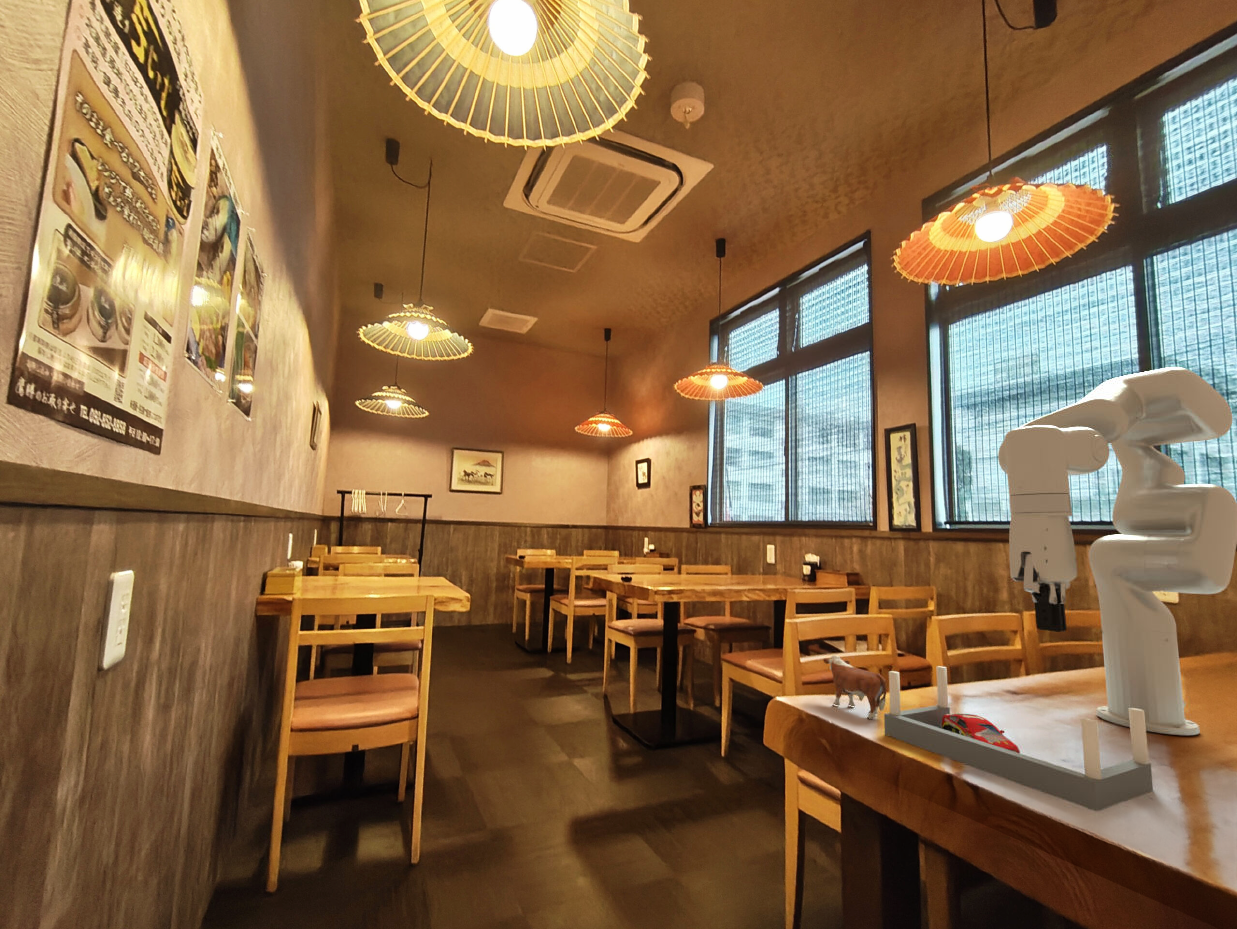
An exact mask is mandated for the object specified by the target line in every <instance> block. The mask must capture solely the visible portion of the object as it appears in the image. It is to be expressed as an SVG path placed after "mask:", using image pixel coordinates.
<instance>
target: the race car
mask: <svg viewBox="0 0 1237 929" xmlns="http://www.w3.org/2000/svg"><path fill="white" fill-rule="evenodd" d="M942 729H944V730H947V731H950V732H954V733H957V734H960V735H963V736H966V737H969V738H972V739H976V740H979V741H982V742H985V743H988V744H991V745H995V746H998V747H1001V748H1004V749H1007V750H1010V751H1013V752H1017V753H1020V754H1021V751H1020V748H1019V747H1018V745H1016V744H1015V743H1014V742H1013V741H1012V740H1011V739H1009V738H1008V737H1006V736H1005V735H1004V733H1005V730H1002V729H1001V730H1000V729H999V728H998V727H997V726H996V725H995V724H994V723H992V722H991V721H989V720H988V719H986V718H984V717H982V716H979V715H976V714H969V713H950V714H945V715H944V716H943V718H942Z"/></svg>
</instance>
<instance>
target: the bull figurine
mask: <svg viewBox="0 0 1237 929" xmlns="http://www.w3.org/2000/svg"><path fill="white" fill-rule="evenodd" d="M823 663H824V664H826V665H827V664H829V669H830V670H831V673H832V681H833V683H834V684H835V699H834V701H833V703H832V704H835V705H841V704H840V699H841V698H842V694H845V695H847V696H848V699H849V700H848V705H851V706H854V707H855V706H856V704H855V702H854V700H853V699H854V695H856V696H857V697H858V700H859V701H861V702H862V701H863V699H864V698H865V697H866V698H867V700H868V704H869V708H870V710H869V712H868V716H867V717H866V719H867V718H869V719H868V720H870V719H871V720H873V719H874V718H876V715H878V713H879V712H878V709H879V711H880V712H882V711H884V709H885V708H884V707H885V706H886V697H887V696H886V695H887V680H886V679H885V678H884V677H883V676H882V675H881V674H880V673H877V672H873V671H868V670H865V669H860V668H857V667H855V666H853V665H852V664H850V661H849V660H848V659H845V660H843V659H841V657H840V656H839V655H837V654H833V655H831V656H830V658H823ZM881 697H882V698H881ZM848 705H847V706H848ZM869 713H870V714H869Z"/></svg>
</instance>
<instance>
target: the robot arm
mask: <svg viewBox="0 0 1237 929" xmlns="http://www.w3.org/2000/svg"><path fill="white" fill-rule="evenodd" d="M1232 425H1233V412H1232V409H1231V407H1230V405H1229V403H1228V401H1227V400H1226V399H1225V398H1224V397H1223V395H1221V393H1219V392H1218V391H1217V389H1215V388H1214V387H1213V386H1212V385H1211V384H1209V383H1208V382H1207V381H1206V380H1205V379H1204V378H1202V377H1201V376H1200V375H1198V374H1196V373H1195V372H1193V371H1191V370H1190V369H1187V368H1184V367H1179V366H1175V367H1174V366H1170V367H1164V368H1159V369H1153V370H1149V371H1144V372H1139V373H1138V372H1137V373H1133V374H1127V375H1123V376H1119V377H1114V378H1111V379H1109V380H1106V381H1104V382H1102V383H1101V384H1099V385H1098V386H1097V387H1095V388H1094V389H1093V390H1091V391H1090V392H1089V393H1088V394H1087V395H1086V396H1084V397H1083V398H1082V399H1080V400H1079V401H1078V402H1076V403H1074V404H1071V405H1068V406H1066V407H1063V408H1060V409H1058V410H1056V411H1053V412H1051V413H1048V414H1046V415H1043V416H1041V417H1039V418H1038V417H1037V418H1036V419H1033V420H1031V421H1029V422H1026V423H1024V424H1023V425H1020V426H1019V427H1018V428H1013V429H1012V430H1009V431H1007V432H1006V434H1005V436H1004V439H1003V441H1002V442H1001V444H1000V446H999V450H998V454H997V455H998V456H997V457H998V458H997V459H998V463H999V466H1000V468H1001V469H1002V472H1003V473H1005V474H1006V476H1007V487H1008V496H1009V497H1008V498H1009V500H1008V501H1009V510H1010V524H1009V534H1008V537H1009V538H1008V541H1009V542H1008V544H1009V545H1008V552H1009V572H1010V577H1011V579H1012V580H1013V581H1015V582H1023V590H1024V591H1025V592H1028V593H1030V594H1031V599H1032V602H1033V603H1034V613H1035V624H1036V628H1037V629H1038V630H1040V631H1049V632H1055V633H1060V632H1066V631H1067V629H1068V628H1067V620H1066V619H1067V618H1066V617H1067V616H1066V608H1065V603H1066V590H1067V589H1069V588H1070V587H1071V582H1072V581H1074V579H1076V578H1077V576H1078V567H1077V566H1078V563H1077V554H1076V548H1075V547H1076V546H1075V541H1074V535H1073V531H1072V526H1071V522H1070V518H1069V517H1072V516H1073V508H1072V500H1071V498H1072V497H1071V494H1070V493H1071V491H1070V490H1071V489H1070V481H1069V476H1078V475H1079V476H1081V475H1088V474H1092V473H1094V472H1097V471H1099V470H1101V469H1102V468H1103V467H1104V466H1105V465H1106V464H1107V462H1108V460H1109V457H1110V446H1111V448H1112V450H1113V452H1114V454H1115V457H1116V458H1117V461H1118V462H1119V465H1120V467H1121V471H1122V474H1121V480H1120V483H1119V486H1118V490H1117V494H1116V498H1115V501H1114V505H1113V509H1112V525H1113V526H1114V528H1115V529H1116V531H1118V533H1117V534H1111V535H1110V534H1108V535H1105V536H1102V537H1100V538H1097V539H1096V540H1094V541H1093V543H1091V545H1090V547H1089V551H1088V560H1089V561H1088V562H1089V566H1090V569H1091V572H1092V575H1093V576H1092V577H1093V580H1094V583H1095V587H1096V592H1097V597H1098V603H1099V611H1100V623H1101V626H1100V627H1101V636H1102V637H1101V638H1102V648H1103V649H1102V650H1103V662H1104V664H1103V665H1104V673H1105V674H1104V675H1105V676H1104V677H1105V685H1106V686H1105V687H1106V701H1107V705H1103V706H1098V707H1097V708H1096V716H1098V717H1099V718H1101V719H1102V720H1104V721H1106V722H1110V723H1112V724H1116V725H1119V726H1123V727H1127V728H1130V719H1129V708H1136V709H1141V710H1144V715H1145V727H1146V732H1151V733H1156V734H1165V735H1170V736H1171V735H1174V736H1197V735H1199V734H1200V732H1201V731H1200V725H1199V724H1197V723H1196V722H1194V721H1192V720H1189V719H1186V717H1185V707H1186V702H1185V701H1184V696H1183V688H1182V676H1181V666H1180V656H1179V655H1180V654H1179V645H1178V634H1177V623H1176V620H1175V617H1174V615H1173V614H1172V612H1171V610H1170V609H1169V608H1168V607H1167V605H1166V604H1165V603H1163V601H1162V600H1160V598H1159V597H1158V596H1157V595H1155V593H1154V592H1165V593H1166V592H1167V593H1180V594H1195V595H1196V594H1197V595H1214V594H1218V593H1221V592H1222V591H1224V590H1225V589H1227V587H1228V586H1229V584H1230V581H1231V578H1232V574H1233V569H1234V563H1235V556H1236V549H1237V500H1236V499H1235V497H1234V495H1233V494H1232V493H1231V492H1230V491H1229V490H1228V489H1226V488H1225V487H1224V486H1222V485H1221V486H1220V485H1217V484H1211V483H1191V484H1184V483H1185V479H1186V475H1185V474H1186V473H1185V471H1184V469H1183V467H1181V465H1180V464H1178V462H1176V461H1175V460H1174V459H1172V458H1171V457H1170V456H1168V455H1167V454H1165V453H1162V452H1161V451H1159V450H1157V449H1156V448H1155V447H1154V446H1162V445H1173V444H1174V445H1175V444H1180V443H1181V444H1183V443H1193V442H1202V441H1203V442H1204V441H1210V440H1216V439H1218V438H1221V437H1223V436H1225V435H1226V434H1227V433H1228V432H1229V431H1230V429H1231V428H1232ZM1109 444H1110V446H1109Z"/></svg>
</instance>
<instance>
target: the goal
mask: <svg viewBox="0 0 1237 929" xmlns="http://www.w3.org/2000/svg"><path fill="white" fill-rule="evenodd" d="M935 667H936V686H937V688H936V689H937V691H936V693H937V705H930V706H925V707H924V706H923V707H919V708H912V709H905V710H901V685H900V684H901V683H900V672H898V671H895V670H894V671H893V670H891V671H888V681H889V682H888V683H889V684H888V685H889V686H888V687H889V712H886V713H884V714H883V717H884V718H883V720H884V735H885V734H886V735H885V736H887V735H889V736H891V737H890V738H892V737H894V738H893V739H895V738H896V740H899V741H900V740H901V742H903V741H904V742H903V743H906V744H909V745H911V746H915V747H917V748H921V749H923V750H926V751H928V752H932V753H934V754H937V755H939V756H942V757H945V758H948V759H951V760H954V761H956V762H959V763H961V764H964V765H967V766H970V767H973V768H975V769H979V770H981V771H985V772H987V773H990V774H992V775H995V776H997V777H1000V778H1004V779H1007V780H1010V781H1013V782H1014V783H1017V784H1020V785H1023V786H1026V787H1028V788H1031V789H1034V790H1037V791H1040V792H1042V793H1045V794H1048V795H1051V796H1052V797H1056V798H1059V799H1061V800H1064V801H1067V802H1071V803H1073V804H1076V805H1078V806H1081V807H1084V808H1087V809H1090V810H1093V811H1095V812H1099V811H1102V810H1104V809H1107V808H1109V807H1113V806H1115V805H1118V804H1120V803H1123V802H1126V801H1128V800H1132V799H1134V798H1136V797H1139V796H1141V795H1144V794H1147V793H1150V792H1152V791H1154V785H1153V776H1152V774H1153V773H1152V765H1151V764H1152V763H1150V762H1149V752H1148V751H1149V750H1148V741H1147V740H1148V739H1147V731H1146V727H1145V715H1144V710H1141V709H1136V708H1129V719H1130V727H1129V728H1130V740H1131V741H1130V742H1131V754H1132V759H1130V760H1127V761H1124V762H1121V763H1117V764H1113V765H1111V766H1107V767H1104V768H1101V766H1102V765H1101V755H1100V741H1099V740H1100V739H1099V728H1098V726H1099V725H1098V721H1097V720H1096V719H1092V718H1087V717H1081V718H1080V722H1081V723H1080V724H1081V725H1080V726H1081V736H1082V737H1081V738H1082V751H1083V763H1084V764H1083V765H1084V773H1082V772H1079V771H1076V770H1073V769H1070V768H1067V767H1064V766H1061V765H1057V764H1054V763H1051V762H1047V761H1045V760H1043V759H1038V758H1036V757H1035V758H1034V757H1032V756H1028V755H1026V754H1023V753H1021V752H1020V753H1017V752H1013V751H1010V750H1007V749H1004V748H1001V747H998V746H995V745H991V744H988V743H985V742H982V741H979V740H976V739H972V738H969V737H966V736H963V735H960V734H957V733H954V732H950V731H947V730H944V729H942V718H943V716H944V715H945V714H951V708H950V706H949V698H948V696H949V695H948V673H947V672H948V671H947V666H940V665H938V666H935ZM889 736H888V737H889Z"/></svg>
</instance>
